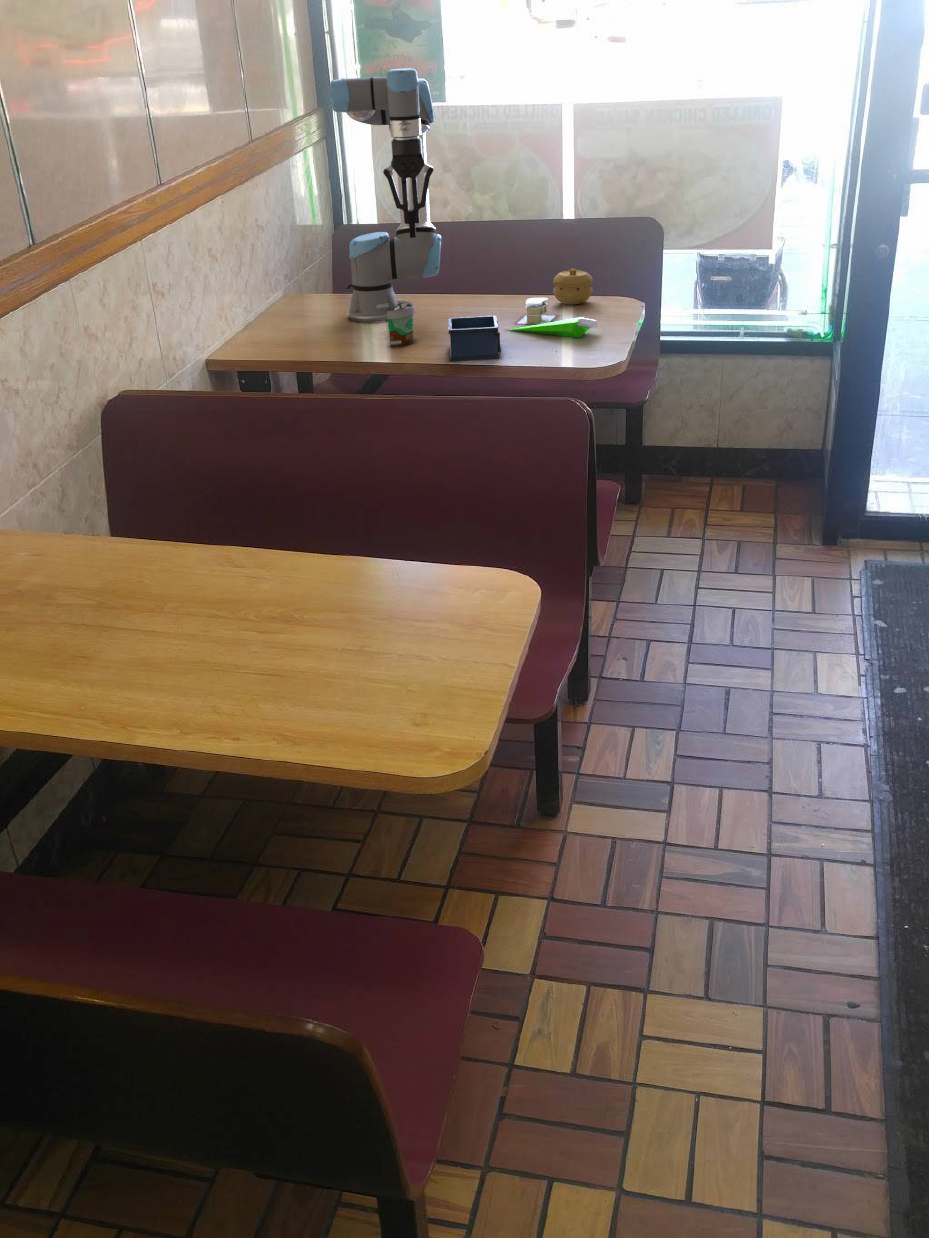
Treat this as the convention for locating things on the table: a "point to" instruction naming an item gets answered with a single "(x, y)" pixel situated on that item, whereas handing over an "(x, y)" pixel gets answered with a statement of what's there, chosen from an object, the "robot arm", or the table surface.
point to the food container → (401, 324)
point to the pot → (572, 286)
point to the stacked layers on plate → (536, 312)
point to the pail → (474, 338)
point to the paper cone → (562, 327)
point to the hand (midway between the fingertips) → (412, 236)
